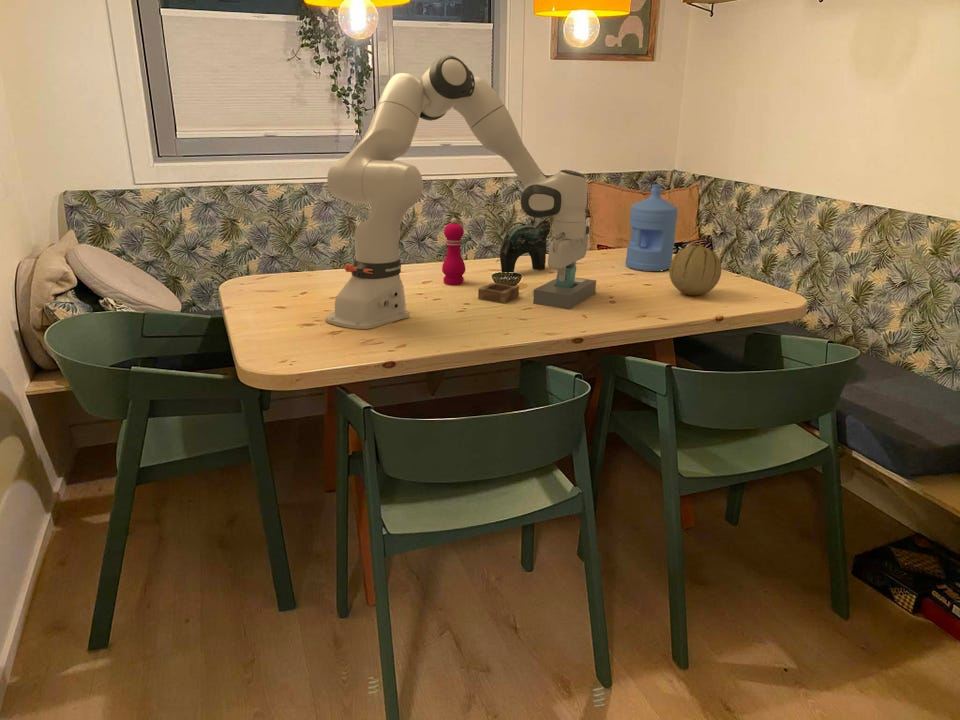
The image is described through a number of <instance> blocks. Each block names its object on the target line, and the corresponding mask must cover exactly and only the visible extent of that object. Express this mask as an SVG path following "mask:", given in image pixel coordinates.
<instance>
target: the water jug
mask: <svg viewBox="0 0 960 720" xmlns="http://www.w3.org/2000/svg"><path fill="white" fill-rule="evenodd" d="M661 188H662V184H659V183H658V184H657V183H655V184H654V183H652V184H651V189H650V191H651V192H650V195H649V197H648V198H645V199H642V200H641V201H638V202H636V203H633V204H632V205H631V206H630V207H631V208H630V211H629V212H630V213H629V226H630V228H631V232H630V241H629V244H628V245H627V247H626V248H627V250H626V257H625V266H626V267H627V268H629V269H631V268H632V269H631V270H634V269H636V270H635V271H639V270H643V271H642V272H647V271H661V270H667V269H669V270H670V265H671V262H672V259H673V254H674V253H673V252H674V245H675V239H676V235H675V234H676V226H677V220H678V207H677V206H676V205H674V204H672V203H671V202H668V201H667V200H665V199H663V198H662V197H661V192H662V189H661ZM667 271H668V270H667ZM661 272H662V271H661Z"/></svg>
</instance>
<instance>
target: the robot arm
mask: <svg viewBox="0 0 960 720" xmlns="http://www.w3.org/2000/svg"><path fill="white" fill-rule="evenodd" d="M376 104H377V105H376V107H375V111H374V112H373V116H372V119H371V120H370V124H369V126H368V129H367V131H366V132H365V134H364V136H363V137H362V138H361V139H360V141H359V143H358V144H356V146H355V147H354V148H353V149H352V150H351V151H350V152H349V153H348V154H346V155H345V156H344V157H342V158H340V159H338V160H337V161H334V162H333V163H332V164H331V166H330V167H329V169H328V172H327V177H326V178H327V180H326V181H327V186H328V190H329V191H330V193H331V195H332V197H334V198H336V199H338V200H341V201H343V202H347V203H350V204H358V205H359V204H360V205H371V207H370V208H371V210H370V214H369V216H368V218H367V219H366V220H363V221H362V222H361V223H359V224H358V225H357V226H356V228H355V231H354V249H355V253H354V254H355V259H354V260H353V264H350V263H346V264H345V265H344V271H345V272H346V273H351V277H350V278H349V279H348V280H347V282H345V284H344V285H343V287H342V289H340V291H339V292H338V294H336V296H335V298H334V299H335V300H334V301H335V302H334V312H332V313H330V314H328V315H326V316H325V322H327V323H329V324H331V325H334V326H338V327H343V328H348V329H357V330H358V329H361V330H366V329H367V330H369V329H371V328H372V329H373V328H375V327H378V326H379V327H380V326H382V325H386V324H389V323H393V322H395V321H400V320H403V319H406V318H409V317H410V312H409V311H408V310H407V304H406V295H405V289H404V284H403V281H402V280H401V277H400V274H401V273H402V269H401V267H402V264H401V259H400V257H399V255H400V253H399V245H400V243H399V240H400V228H401V225H402V221H403V219H404V217H405V215H406V213H407V212H408V210H409V209H410V208H411V207H412V206H414V205H415V204H416V203H417V202H418V201H419V200H420V199H421V195H422V193H423V190H424V182H423V181H424V180H423V177H422V174H421V172H420V170H419V169H418V168H417V166H415V165H412V164H409V163H407V162H406V163H405V162H402V161H399V160H397V159H398V158H400V157H402V156H404V155H405V154H406V153H408V151H409V149H410V148H411V146H412V142H413V138H414V137H415V134H416V130H417V128H418V124H419V120H420V119H423V120H425V121H437V120H439V119H441V118H443V117H444V116H445V115H446V113H447V112H448V111H450V110H451V109H452V110H455V111H456V112H458V113H459V114H460V115H461V116H462V117H463V119H464V120H465V123H466V124H467V125H468V127H469V128H470V131H471V132H472V134H473V135H474V136H475V138H476V139H477V140H478V141H479V142H480V144H481V145H482V146H483V147H484V148H485V149H486V150H488V151H490V152H492V153H494V154H496V155H498V156H500V157H502V158H503V159H504V160H505V161H506V162H507V163H508V164H509V166H510V167H511V169H512V170H513V171H514V173H515V175H516V176H517V178H518V179H519V180H520V182H521V183H522V185H523V188H524V190H523V191H522V192H521V193H522V194H521V196H520V206H521V209H522V211H523V212H524V213H525V215H526V214H527V216H529V217H530V218H533V219H534V218H535V219H539V218H542V217H543V218H546V217H553V228H552V229H553V230H552V237H554V239H553V240H552V241H551V242H550V243H549V247H548V256H547V266H548V269H552V270H556V272H557V271H558V275H559V279H558V280H559V281H565V280H566V275H565V270H566V266H568V265H570V264H572V266H576V265H577V262H578V261H579V260H582V259H584V258H585V257H586V254H587V249H588V241H589V234H590V232H591V227H590V225H588V224H587V222H586V220H587V218H586V214H585V213H586V208H587V204H588V181H587V178H586V176H585V175H584V174H583V173H581V172H579V171H574V170H569V169H561V170H559V171H558V172H557V173H555V174H553V175H551V176H547V175H546V174H544V173H543V171H542V170H541V169H540V168H539V166H538V164H537V163H536V162H535V159H533V157H532V155H531V154H530V152H529V151H528V149H527V148H526V146H525V144H524V143H523V140H522V138H521V136H520V133H519V132H518V129H517V127H516V124H515V123H514V120H513V119H512V116H511V114H510V113H509V110H508V109H507V107H506V105H505V104H504V102H503V100H502V99H501V98H500V96H499V95H498V94H497V93H496V91H495V90H494V89H493V87H492V86H491V85H490V84H489V83H488V82H487V81H486V80H485V79H484V78H482V77H480V76H474V74H473V72H472V70H470V68H468V66H467V65H466V64H465V63H464V61H462V60H461V59H459V58H458V57H456V56H454V55H451V54H450V55H447V54H446V55H443V56H441V57H440V58H437V59H436V60H435V61H433V62H432V64H431V65H430V67H429V68H428V69H427V70H426V71H424V73H423V74H422V75H421V76H420V77H416V76H414V75H412V74H410V73H408V72H399V73H396V74H394V75H393V76H391V78H390V79H389V81H388V82H387V83H386V85H385V87H384V88H383V91H382V93H381V95H380V97H379V100H378V102H377V103H376ZM576 267H577V266H576Z"/></svg>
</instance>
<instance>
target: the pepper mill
mask: <svg viewBox="0 0 960 720" xmlns="http://www.w3.org/2000/svg"><path fill="white" fill-rule="evenodd" d="M464 234H465V231H464V228H463V225H462V224H459V223H458V222H457V218H455V217H452V218H451V220H450V223H448V224H446V225H445V227H444V230H443V235H444V237H445V238H446V239H445V244H446V246H447V247H446V248H447V249H446V256H445V258H444V260H443V262H442V265H441V267H442V268H441V271H442V273H443V274H444V276H443V284H445V285H448V286H462V285H463V284H464V281H465V280H464V279H465V278H464V276H463V275H464V274H465V272H466V265H465V262H464V260H463V257H462V254H461V246H462V245H463V242H462V241H463V239H462V237H463V236H464Z"/></svg>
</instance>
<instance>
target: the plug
mask: <svg viewBox="0 0 960 720" xmlns="http://www.w3.org/2000/svg"><path fill="white" fill-rule="evenodd" d="M576 270H577V266H572V264H570V265H568V266H566V270H565V275H566V280H565V281H559V280H558V279H559V275H558V271H557V270H556V272H557V273H556V278H557V279H556V278H555V279H556V286H559V287H566V288H573V287H574V280H575V277H576V273H577V271H576Z"/></svg>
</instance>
